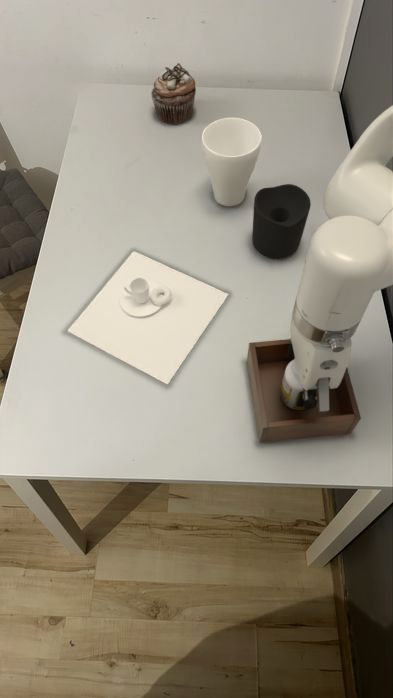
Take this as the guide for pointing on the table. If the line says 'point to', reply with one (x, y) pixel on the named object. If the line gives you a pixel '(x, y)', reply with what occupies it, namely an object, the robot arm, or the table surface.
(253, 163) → the cup
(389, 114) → the robot arm
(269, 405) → the holder
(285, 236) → the pen holder
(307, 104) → the table surface
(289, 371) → the supplement bottle
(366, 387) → the table surface
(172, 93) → the cupcake
